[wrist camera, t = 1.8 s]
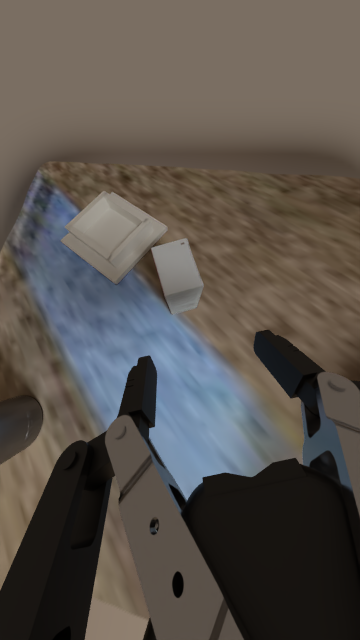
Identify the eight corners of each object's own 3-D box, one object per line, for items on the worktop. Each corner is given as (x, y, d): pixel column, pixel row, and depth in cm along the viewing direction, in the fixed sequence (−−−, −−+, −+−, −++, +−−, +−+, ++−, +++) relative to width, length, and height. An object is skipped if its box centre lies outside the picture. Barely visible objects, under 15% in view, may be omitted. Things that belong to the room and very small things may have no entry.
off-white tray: (116, 285, 29) (107, 276, 26) (64, 244, 32) (49, 231, 29) (167, 230, 32) (165, 215, 28) (114, 196, 35) (106, 179, 31)
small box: (162, 282, 29) (149, 246, 19) (186, 275, 29) (186, 235, 19) (171, 315, 27) (163, 296, 17) (197, 308, 27) (204, 285, 17)
